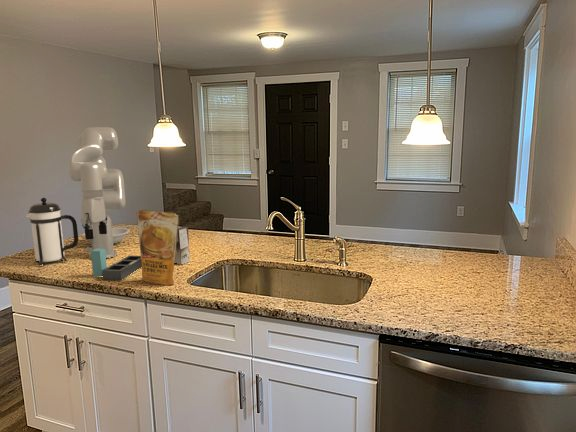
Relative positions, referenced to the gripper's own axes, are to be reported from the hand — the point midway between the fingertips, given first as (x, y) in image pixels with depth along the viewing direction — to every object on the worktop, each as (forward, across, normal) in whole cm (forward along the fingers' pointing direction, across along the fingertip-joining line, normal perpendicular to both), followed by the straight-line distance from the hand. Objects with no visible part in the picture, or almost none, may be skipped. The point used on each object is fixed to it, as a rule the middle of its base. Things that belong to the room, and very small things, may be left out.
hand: (96, 236), depth 181 cm
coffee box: (+17, -23, +25) cm, 38 cm away
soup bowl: (+16, -53, -27) cm, 61 cm away
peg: (+17, -1, 0) cm, 17 cm away
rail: (+17, -7, +8) cm, 20 cm away
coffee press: (+16, -19, -34) cm, 42 cm away
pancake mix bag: (+17, +4, +27) cm, 33 cm away
